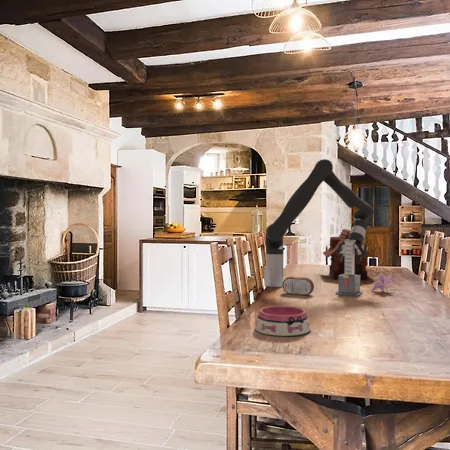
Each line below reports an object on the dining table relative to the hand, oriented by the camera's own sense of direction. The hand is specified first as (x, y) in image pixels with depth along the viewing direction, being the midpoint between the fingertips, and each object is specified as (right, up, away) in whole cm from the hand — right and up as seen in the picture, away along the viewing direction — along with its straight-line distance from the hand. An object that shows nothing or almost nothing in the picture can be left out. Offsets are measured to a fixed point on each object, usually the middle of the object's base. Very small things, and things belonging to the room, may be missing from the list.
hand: (348, 261), depth 220 cm
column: (+1, -15, +1) cm, 15 cm away
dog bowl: (-40, -18, -67) cm, 81 cm away
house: (+16, -15, +61) cm, 65 cm away
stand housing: (+1, -16, +1) cm, 16 cm away
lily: (+19, -16, +7) cm, 25 cm away
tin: (-25, -16, -1) cm, 29 cm away
